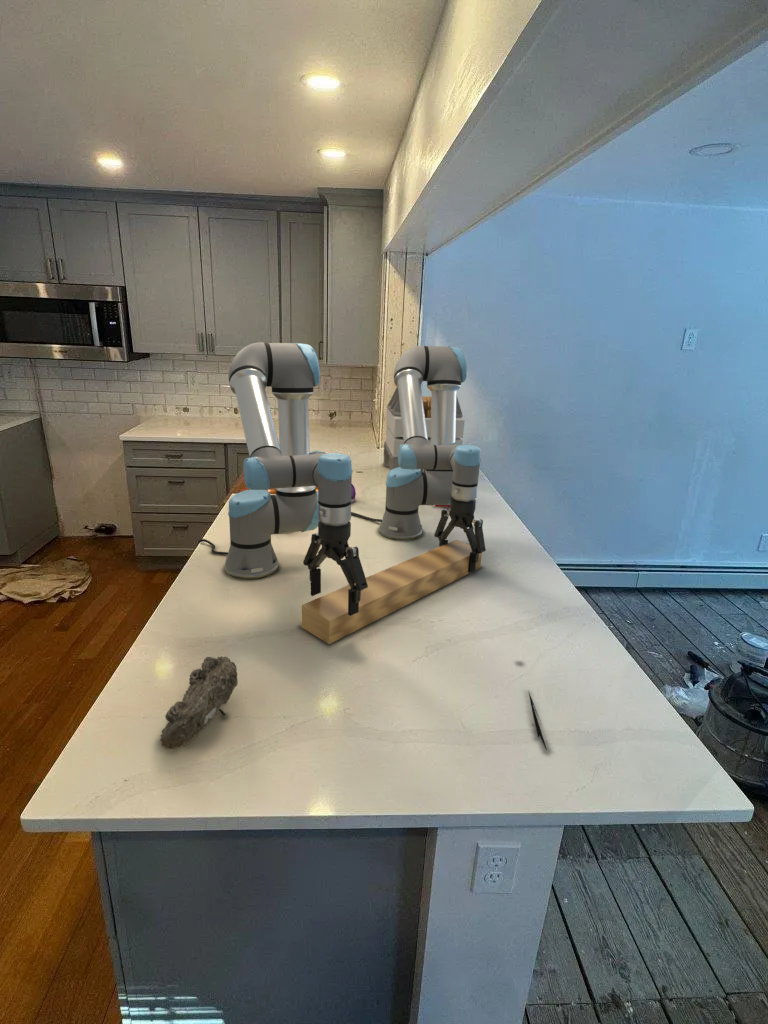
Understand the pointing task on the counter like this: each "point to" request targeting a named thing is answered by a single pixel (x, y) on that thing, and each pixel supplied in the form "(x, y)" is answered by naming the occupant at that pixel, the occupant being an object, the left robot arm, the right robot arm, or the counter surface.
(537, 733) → the feather
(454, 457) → the right robot arm
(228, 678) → the fossil
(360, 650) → the counter surface
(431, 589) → the thick board
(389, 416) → the transformer
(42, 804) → the counter surface
